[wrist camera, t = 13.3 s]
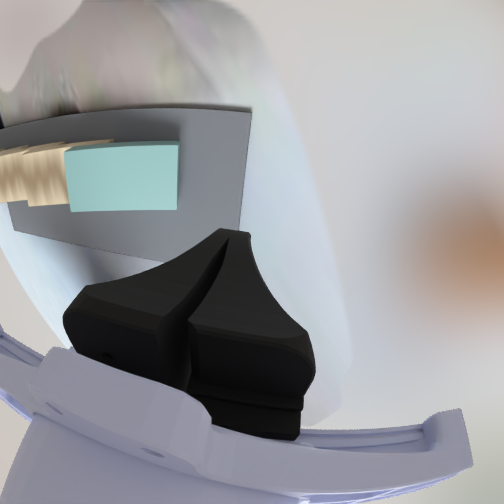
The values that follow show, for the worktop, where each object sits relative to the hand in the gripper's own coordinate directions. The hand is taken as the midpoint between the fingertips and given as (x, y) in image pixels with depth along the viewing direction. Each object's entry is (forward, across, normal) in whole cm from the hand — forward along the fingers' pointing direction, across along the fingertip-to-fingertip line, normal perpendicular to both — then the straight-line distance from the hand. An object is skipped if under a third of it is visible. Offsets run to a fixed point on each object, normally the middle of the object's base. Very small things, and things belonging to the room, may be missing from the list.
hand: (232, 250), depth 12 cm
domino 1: (+9, +18, 0) cm, 20 cm away
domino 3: (+9, +6, 0) cm, 11 cm away
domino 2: (+9, +12, 0) cm, 15 cm away
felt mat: (+10, +16, +2) cm, 20 cm away
